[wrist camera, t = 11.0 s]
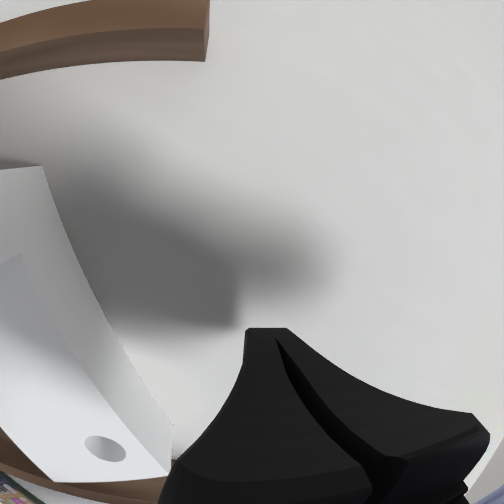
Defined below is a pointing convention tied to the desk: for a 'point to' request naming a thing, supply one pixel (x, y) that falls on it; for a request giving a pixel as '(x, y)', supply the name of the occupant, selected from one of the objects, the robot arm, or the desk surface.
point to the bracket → (66, 355)
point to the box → (90, 52)
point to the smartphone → (15, 492)
